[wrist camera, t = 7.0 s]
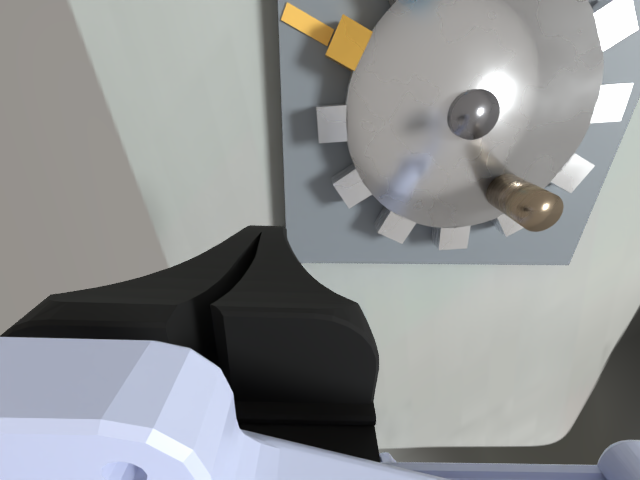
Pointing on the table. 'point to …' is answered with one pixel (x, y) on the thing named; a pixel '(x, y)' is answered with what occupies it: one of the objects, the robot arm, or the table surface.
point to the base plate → (358, 221)
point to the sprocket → (472, 110)
